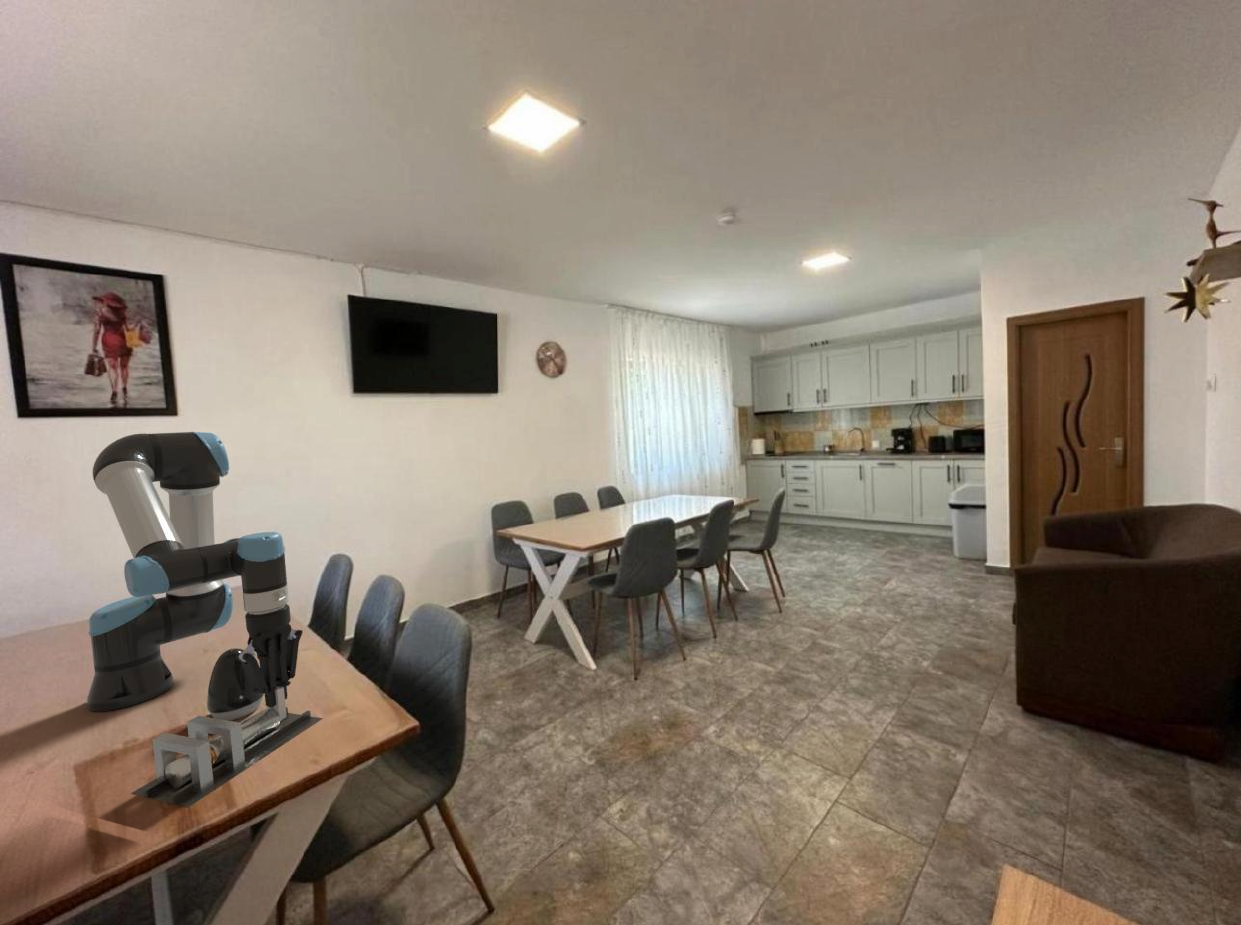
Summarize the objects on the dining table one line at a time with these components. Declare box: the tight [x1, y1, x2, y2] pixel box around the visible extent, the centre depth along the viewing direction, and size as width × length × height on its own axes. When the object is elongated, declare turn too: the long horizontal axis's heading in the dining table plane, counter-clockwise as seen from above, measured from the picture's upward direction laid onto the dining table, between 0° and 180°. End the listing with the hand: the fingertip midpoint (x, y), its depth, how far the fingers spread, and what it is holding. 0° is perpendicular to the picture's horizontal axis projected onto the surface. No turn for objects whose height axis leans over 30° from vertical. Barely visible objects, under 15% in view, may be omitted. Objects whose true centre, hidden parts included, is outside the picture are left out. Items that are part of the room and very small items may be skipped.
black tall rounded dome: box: [206, 647, 265, 721], centre depth 111 cm, size 10×10×15 cm
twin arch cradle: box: [130, 707, 324, 808], centre depth 97 cm, size 14×26×9 cm, turn 163°
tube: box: [165, 707, 280, 788], centre depth 96 cm, size 18×4×4 cm, turn 163°
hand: (278, 717), depth 105 cm, fingers closed
